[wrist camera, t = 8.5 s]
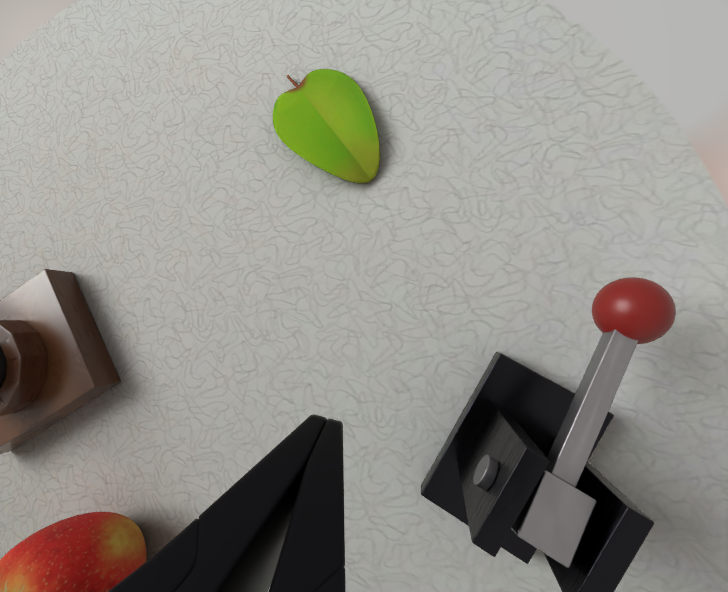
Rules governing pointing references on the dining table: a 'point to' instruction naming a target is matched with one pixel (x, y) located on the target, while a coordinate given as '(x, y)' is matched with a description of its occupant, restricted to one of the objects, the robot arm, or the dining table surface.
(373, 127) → the decorative leaf
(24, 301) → the button block
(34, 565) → the apple
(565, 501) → the switch
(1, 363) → the button
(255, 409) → the dining table surface
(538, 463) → the bracket
